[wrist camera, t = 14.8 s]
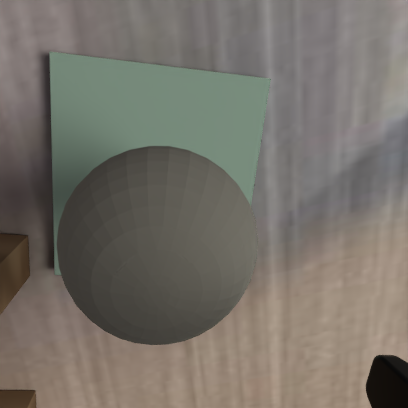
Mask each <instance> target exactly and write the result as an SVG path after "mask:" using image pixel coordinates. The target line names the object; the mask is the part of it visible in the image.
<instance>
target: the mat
mask: <svg viewBox="0 0 408 408" xmlns="http://www.w3.org/2000/svg"><path fill="white" fill-rule="evenodd" d="M270 80H271V79H268V78H260V77H252V76H244V75H236V74H228V73H219V72H211V71H203V70H195V69H187V68H179V67H171V66H162V65H154V64H146V63H138V62H130V61H122V60H114V59H105V58H97V57H89V56H81V55H73V54H65V53H56V52H50V93H51V136H52V179H53V222H54V265H55V275H61V272H60V269H59V262H58V253H57V236H58V227H59V222H60V219H61V216H62V213H63V210H64V207H65V204H66V202H67V200H68V199H69V197H70V196H71V194H72V192H73V191H74V189H75V188H76V186H77V185H78V184H79V183H80V182H81V181H82V180H83V179H84V178H85V177H86V176H87V175H88V174H89V173H90V172H91V171H92V170H93V169H94V168H95V167H97V166H98V165H100V164H101V163H103V162H104V161H106V160H107V159H109V158H110V157H113V156H115V155H118V154H120V153H123V152H125V151H128V150H131V149H136V148H142V147H147V146H171V147H176V148H181V149H186V150H189V151H192V152H194V153H196V154H199V155H201V156H203V157H206V158H208V159H209V160H211V161H212V162H214V163H215V164H217V165H218V166H219V167H221V168H222V169H224V170H225V171H226V172H227V173H228V175H229V176H230V177H231V178H232V179H233V180H234V181H235V182H236V183H237V184H238V186H239V187H240V189H241V190H242V192H243V194H244V195H245V197H246V198H247V200H248V202H249V204H250V206H251V201H252V194H253V188H254V182H255V175H256V169H257V163H258V156H259V150H260V144H261V137H262V131H263V125H264V118H265V112H266V105H267V99H268V93H269V86H270Z"/></svg>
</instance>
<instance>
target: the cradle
mask: <svg viewBox="0 0 408 408" xmlns="http://www.w3.org/2000/svg"><path fill="white" fill-rule="evenodd" d="M29 276H30V268H29V247H28V236H27V235H11V234H0V314H1V313H2V312H3V310H4V309H5V308H6V307H7V305H8V304H9V303H10V301H11V300H12V299H13V297H14V296H15V295H16V293H17V292H18V291H19V289H20V288H21V287H22V286H23V284H24V283H25V282H26V280H27V279H28V278H29ZM0 408H36V394H35V391H21V390H0Z"/></svg>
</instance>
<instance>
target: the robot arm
mask: <svg viewBox="0 0 408 408" xmlns="http://www.w3.org/2000/svg"><path fill="white" fill-rule="evenodd" d="M366 393H367V396H368V399H369V402H370V404H371V407H372V408H408V363H407V362H405V361H404V360H402V359H400V358H399V357H397V356H394V355H378V356H376V357H375V358H374V360H373V363H372V366H371V369H370V373H369V376H368V379H367V383H366Z"/></svg>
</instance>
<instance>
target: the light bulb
mask: <svg viewBox="0 0 408 408" xmlns="http://www.w3.org/2000/svg"><path fill="white" fill-rule="evenodd" d="M257 246H258V237H257V229H256V221H255V218H254V215H253V212H252V209H251V206H250V204H249V202H248V200H247V198H246V197H245V195H244V194H243V192H242V190H241V189H240V187H239V186H238V184H237V183H236V182H235V181H234V180H233V179H232V178H231V177H230V176H229V175H228V173H227V172H226V171H225V170H224V169H222V168H221V167H219V166H218V165H217V164H215V163H214V162H212V161H211V160H209V159H208V158H206V157H203V156H201V155H199V154H196V153H194V152H192V151H189V150H186V149H181V148H176V147H171V146H147V147H142V148H136V149H131V150H128V151H125V152H123V153H120V154H118V155H115V156H113V157H110V158H109V159H107V160H106V161H104V162H103V163H101V164H100V165H98V166H97V167H95V168H94V169H93V170H92V171H91V172H90V173H89V174H88V175H87V176H86V177H85V178H84V179H83V180H82V181H81V182H80V183H79V184H78V185H77V186H76V188H75V189H74V191H73V192H72V194H71V196H70V197H69V199H68V200H67V202H66V204H65V207H64V210H63V213H62V216H61V219H60V222H59V227H58V236H57V253H58V262H59V269H60V272H61V275H62V278H63V281H64V284H65V286H66V288H67V290H68V292H69V294H70V295H71V297H72V299H73V300H74V302H75V304H76V305H77V306H78V307H79V309H80V310H81V311H82V312H83V313H84V314H85V315H86V316H87V317H88V318H89V319H90V320H91V321H92V322H93V323H95V324H96V325H97V326H99V327H100V328H101V329H103V330H104V331H106V332H108V333H110V334H112V335H114V336H116V337H118V338H120V339H124V340H127V341H131V342H134V343H140V344H148V345H162V344H172V343H177V342H182V341H185V340H188V339H191V338H193V337H196V336H198V335H200V334H202V333H204V332H205V331H207V330H209V329H210V328H212V327H214V326H215V325H216V324H217V323H218V322H220V321H221V320H222V319H223V318H224V317H226V316H227V315H228V314H229V313H230V312H231V310H232V309H233V308H234V307H235V305H236V304H237V303H238V302H239V300H240V299H241V297H242V296H243V294H244V292H245V290H246V288H247V286H248V284H249V282H250V280H251V277H252V274H253V270H254V267H255V263H256V258H257Z"/></svg>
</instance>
